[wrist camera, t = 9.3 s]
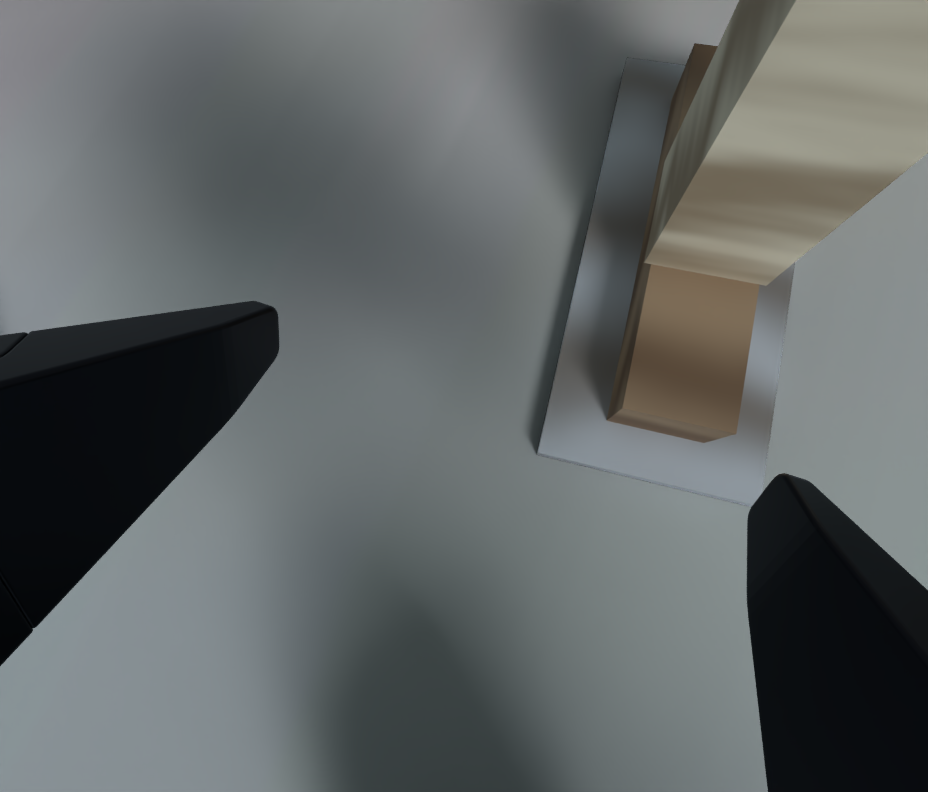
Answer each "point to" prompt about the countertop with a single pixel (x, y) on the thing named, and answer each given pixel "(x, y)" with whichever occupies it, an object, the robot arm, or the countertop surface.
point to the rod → (792, 133)
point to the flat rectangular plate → (662, 326)
